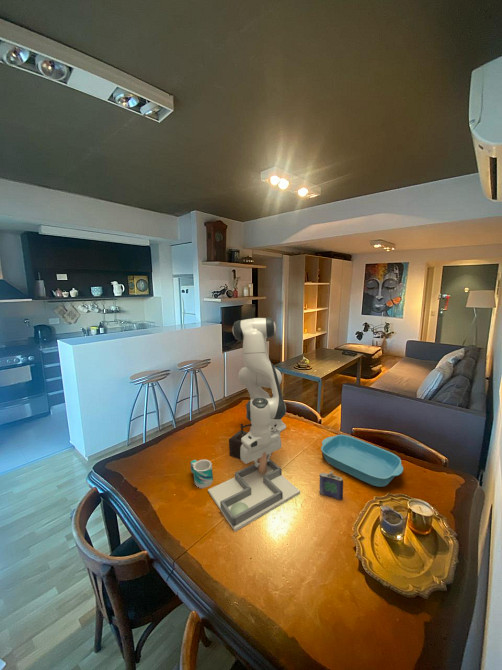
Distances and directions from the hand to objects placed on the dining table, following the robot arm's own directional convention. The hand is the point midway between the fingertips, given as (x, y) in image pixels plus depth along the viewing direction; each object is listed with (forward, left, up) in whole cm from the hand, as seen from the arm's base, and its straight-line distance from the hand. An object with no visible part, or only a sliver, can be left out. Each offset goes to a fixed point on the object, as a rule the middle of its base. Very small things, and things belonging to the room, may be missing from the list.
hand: (262, 463), depth 121 cm
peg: (0, 0, -4) cm, 4 cm away
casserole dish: (-41, +20, -7) cm, 46 cm away
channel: (+8, +5, -7) cm, 12 cm away
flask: (-17, +25, -7) cm, 31 cm away
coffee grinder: (-5, -21, -7) cm, 23 cm away
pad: (+18, +11, -6) cm, 22 cm away
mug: (+23, -15, -7) cm, 29 cm away
